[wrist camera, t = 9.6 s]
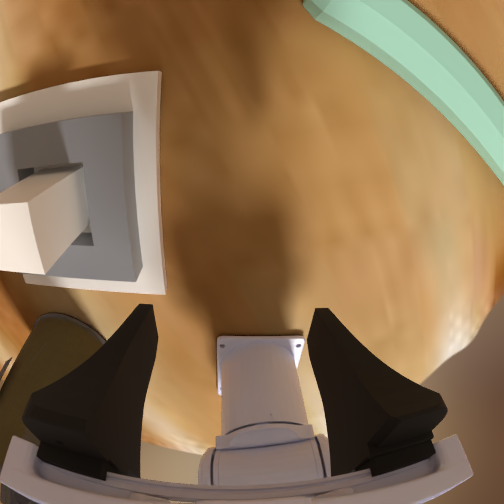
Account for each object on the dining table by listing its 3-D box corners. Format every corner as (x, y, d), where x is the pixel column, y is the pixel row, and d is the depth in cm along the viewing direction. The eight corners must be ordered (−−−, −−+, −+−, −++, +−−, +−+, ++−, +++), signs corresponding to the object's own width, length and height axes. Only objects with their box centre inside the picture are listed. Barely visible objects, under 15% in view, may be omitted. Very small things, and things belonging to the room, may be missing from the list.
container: (314, -30, 8) (548, 212, 15) (342, -66, 8) (552, 156, 14) (277, 27, 14) (501, 207, 20) (307, -18, 14) (508, 157, 20)
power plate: (167, 287, 23) (160, 311, 20) (30, 277, 22) (15, 296, 19) (161, 72, 15) (149, 67, 13) (1, 103, 14) (-23, 108, 11)
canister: (136, 365, 28) (104, 546, 10) (83, 385, 30) (47, 524, 12) (60, 293, 23) (-30, 487, 5) (19, 328, 25) (-47, 470, 7)
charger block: (93, 220, 19) (45, 274, 12) (49, 220, 18) (-3, 269, 12) (86, 165, 17) (27, 202, 11) (42, 169, 16) (-21, 205, 10)
